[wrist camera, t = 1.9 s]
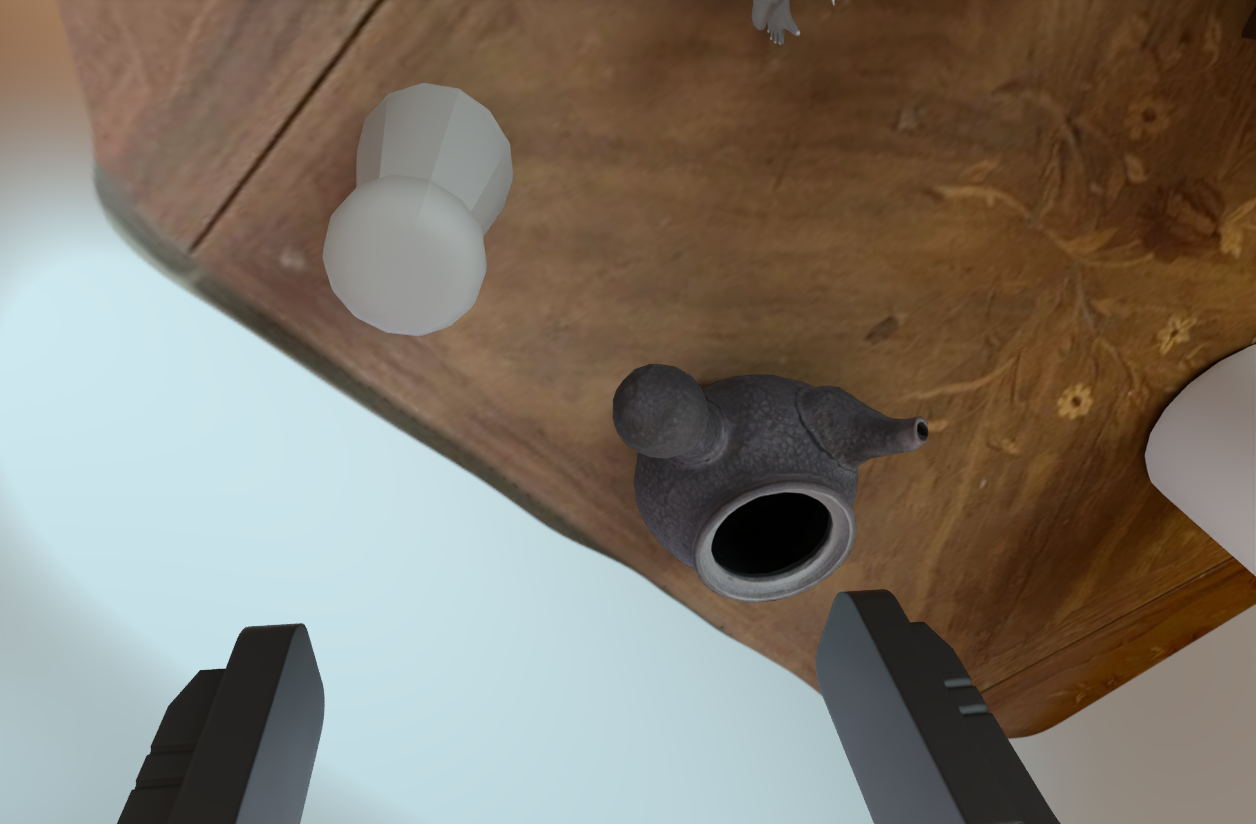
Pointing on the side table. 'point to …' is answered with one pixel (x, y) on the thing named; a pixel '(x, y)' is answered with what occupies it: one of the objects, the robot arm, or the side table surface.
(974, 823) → the robot arm
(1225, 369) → the can
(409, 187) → the salt shaker
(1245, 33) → the block
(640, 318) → the side table surface
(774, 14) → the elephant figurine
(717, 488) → the teapot
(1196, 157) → the side table surface
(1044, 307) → the side table surface
